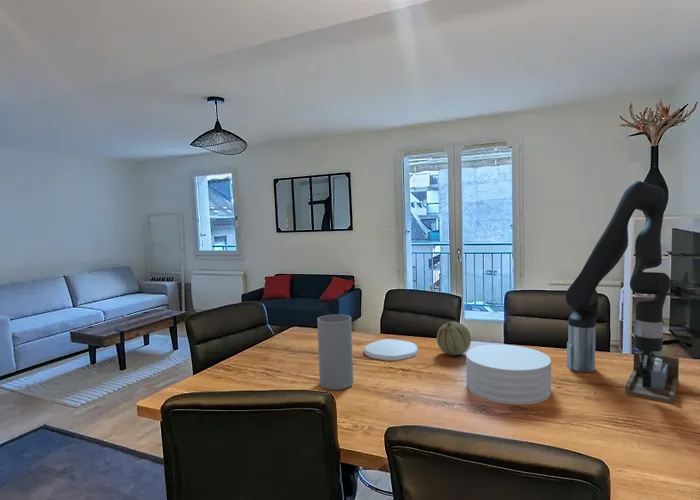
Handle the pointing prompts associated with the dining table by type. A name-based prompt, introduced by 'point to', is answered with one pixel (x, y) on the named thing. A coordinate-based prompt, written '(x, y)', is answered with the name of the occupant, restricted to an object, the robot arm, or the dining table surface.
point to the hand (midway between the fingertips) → (646, 386)
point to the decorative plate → (391, 349)
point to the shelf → (667, 395)
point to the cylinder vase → (335, 351)
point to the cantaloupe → (453, 338)
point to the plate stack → (508, 374)
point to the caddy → (659, 375)
